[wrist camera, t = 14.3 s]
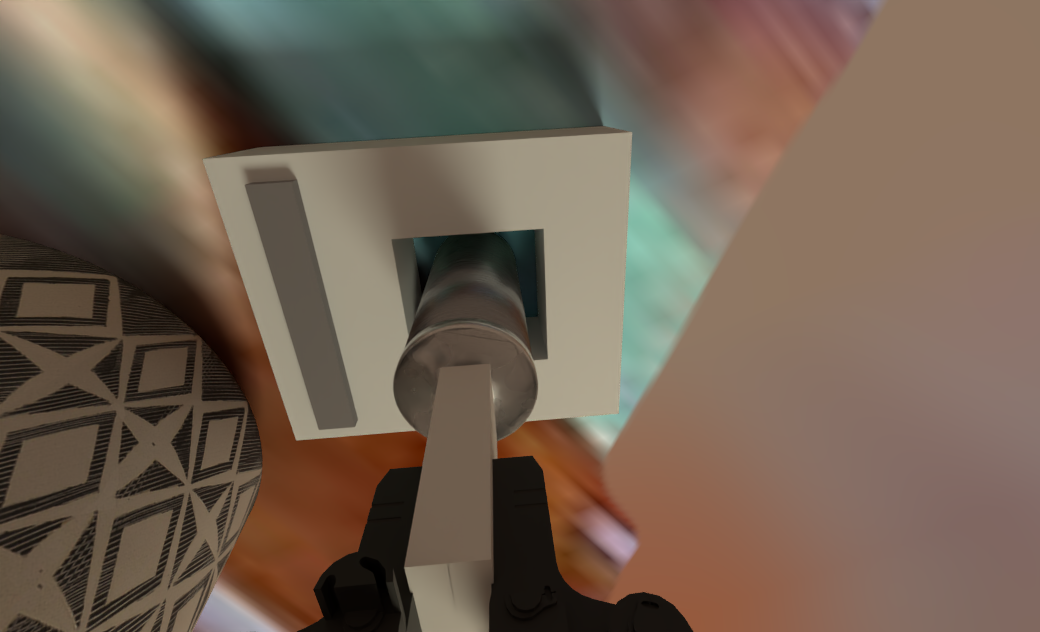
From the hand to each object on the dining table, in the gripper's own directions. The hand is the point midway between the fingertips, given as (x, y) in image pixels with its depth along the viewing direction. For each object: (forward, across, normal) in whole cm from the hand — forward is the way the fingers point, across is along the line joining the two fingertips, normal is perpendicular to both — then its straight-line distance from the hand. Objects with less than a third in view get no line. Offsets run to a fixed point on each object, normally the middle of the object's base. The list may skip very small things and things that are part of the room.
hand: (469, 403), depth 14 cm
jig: (+13, -2, 0) cm, 13 cm away
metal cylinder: (+13, 0, 0) cm, 13 cm away
